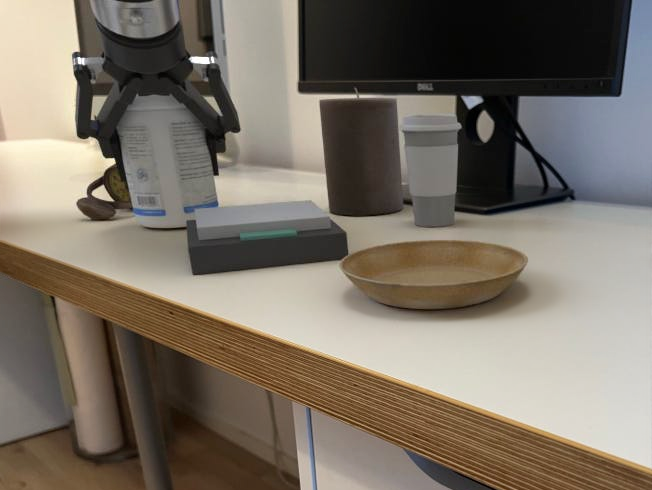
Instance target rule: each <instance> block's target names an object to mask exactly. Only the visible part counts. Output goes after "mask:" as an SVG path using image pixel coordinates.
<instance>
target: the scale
mask: <svg viewBox="0 0 652 490" xmlns="http://www.w3.org/2000/svg"><path fill="white" fill-rule="evenodd" d="M194 210H195V217H196V220H187V221H186V226H187V227H186V241H187V251H188V257H189V262H190V268H191V273H192V275H193V276H196V275H204V274H216V273H224V272H233V271H243V270H244V271H245V270H253V269H263V268H272V267H280V266H291V265H299V264H300V265H301V264H308V263H318V262H328V261H338V260H342V259H343V258H344V257H346V256H347V255H349V254H350V253H349V244H348V243H349V242H348V232H346V231H345V230H344V229H343V228H342V227H341V226H339V224H338V223H336V222H335V221H334V220H333V219H332V218H331V217H330V215H329V214H328V213H326V212H325V211H324V210H323V209H322V208H321V207H319V205H317V204H316V203H315V202H313V201H312V199H307V200H294V201H281V202H280V201H279V202H269V203H267V202H266V203H255V204H241V205H228V206H219V207H213V208H200V209H194Z"/></svg>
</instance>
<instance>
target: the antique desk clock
mask: <svg viewBox="0 0 652 490" xmlns="http://www.w3.org/2000/svg"><path fill="white" fill-rule="evenodd" d="M102 186H103V187H104V189H105V191H106V192H107V194H108V196H109V197H110V198H111V199H112V200H107V199H101V198H98V197H96V196H94V195H93V192H94V191H96V190H98V189H99V188H100V187H102ZM75 205H76V207H77V209H78V210H79V211H80V212H81V213H82V214H83V215H84V216H86V217H87V218H89V219H92V220H108V219H110V218H114V216H115V215H116V214H117V210H132V211H134V210H133V206H132V201H131V196H130V192H129V187H128V182H127V181H121V179H120V175H119V172H118V169H117V166H116V162H115V163H114V164H112V165H110V166H109V167H108V168H106V169H105V171H104V172H103V175H102V176H100V177H99V178H97V179H95V180H94V181H92V182H90V183H89V184H88V186H87V187H86V197H81V198H79V199H77V201H76V202H75Z"/></svg>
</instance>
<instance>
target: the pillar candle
mask: <svg viewBox="0 0 652 490" xmlns="http://www.w3.org/2000/svg"><path fill="white" fill-rule="evenodd" d="M357 89H358V88H356V87H354V91H355V94H356V97H348V98H347V97H345V98H344V97H343V98H325V99H324V98H323V99H319V100H318V102H319V103H318V104H319V114H320V116H319V117H320V126H321V138H322V147H323V148H322V150H323V161H324V169H325V170H324V171H325V179H326V190H327V199H328V210H329V213H332V214H334V215H342V216H343V215H346V216H347V215H348V216H357V217H365V216H375V215H384V214H392V213H396V212H399V211H401V210H403V209H404V197H403V181H402V180H403V178H402V164H401V163H402V162H401V149H400V148H401V147H400V146H401V145H400V133H399V131H400V130H399V116H398V115H399V114H398V113H399V112H398V98H396V97H360V95H359V92H358V90H357Z"/></svg>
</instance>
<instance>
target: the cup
mask: <svg viewBox="0 0 652 490" xmlns="http://www.w3.org/2000/svg"><path fill="white" fill-rule="evenodd" d="M398 129H399V131H401V132H402V133H403V138H404V144H403V146H404V147H403V148H404V156H405V164H406V172H407V179H408V187H409V195H410V196H411V203H412V210H413V211H412V212H413V218H414V219H413V220H414V225H416V226H418V227H423V228H438V227H440V228H441V227H448V226H452V225H454V223H455V206H456V205H455V204H456V194H457V185H458V162H459V161H458V159H459V142H458V132H459V131H460V130H462V129H463V128H462V124H461V122H458V117H457V114H447V113H446V114H444V113H442V114H410V115H403V118H402V123H400V125H399V126H398Z"/></svg>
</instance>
